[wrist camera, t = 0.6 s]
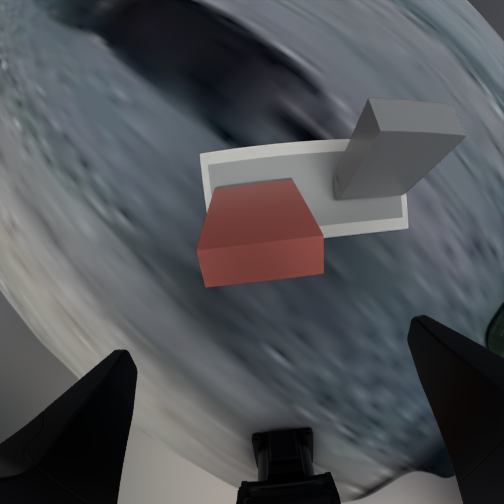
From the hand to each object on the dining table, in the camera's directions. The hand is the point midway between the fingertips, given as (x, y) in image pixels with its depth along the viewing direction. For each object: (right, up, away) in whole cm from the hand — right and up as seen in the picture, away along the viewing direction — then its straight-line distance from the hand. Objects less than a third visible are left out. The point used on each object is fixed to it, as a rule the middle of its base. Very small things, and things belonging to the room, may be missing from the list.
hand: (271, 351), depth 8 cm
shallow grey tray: (+4, +8, +15) cm, 17 cm away
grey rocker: (+8, +8, +11) cm, 15 cm away
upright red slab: (0, +7, +11) cm, 13 cm away
